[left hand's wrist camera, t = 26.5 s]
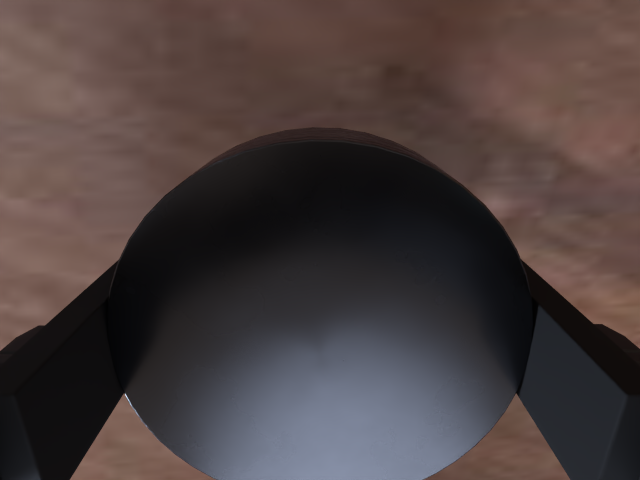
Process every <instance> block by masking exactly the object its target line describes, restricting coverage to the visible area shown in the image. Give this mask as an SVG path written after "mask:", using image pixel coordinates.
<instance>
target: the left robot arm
mask: <svg viewBox="0 0 640 480" xmlns="http://www.w3.org/2000/svg"><path fill="white" fill-rule="evenodd" d="M118 261H119V260H118ZM118 261H117V262H116V263H115V264H114V265H112V266H111V267H110V268H109V269H108V270H107V271H106V272H105V273H103V274H102V275H101V276H100V277H99V278H98V279H97V280H96V281H94V282H93V283H92V284H91V285H90V286H89V287H88V288H87V289H86V290H84V291H83V292H82V293H81V294H80V295H79V296H78V297H77V298H75V299H74V300H73V301H72V302H71V303H70V304H69V305H68V306H66V307H65V308H64V309H63V310H62V311H61V312H60V313H59V314H58V315H56V316H55V317H54V318H53V319H52V320H51V321H50V322H49V323H47V324H46V325H45V326H37V327H35V328H33V329H31V330H30V331H28V332H26V333H24V334H22V335H20V336H18V337H16V338H15V339H14V340H13V341H12V342H10V343H9V344H8V345H7V346H6V347H5V348H3V349H2V350H1V351H0V480H70V478H71V477H72V475H73V473H74V472H75V470H76V469H77V467H78V465H79V464H80V462H81V461H82V459H83V458H84V456H85V454H86V453H87V451H88V450H89V448H90V446H91V445H92V443H93V442H94V440H95V438H96V437H97V435H98V434H99V432H100V430H101V429H102V427H103V426H104V424H105V422H106V421H107V419H108V418H109V416H110V414H111V413H112V411H113V410H114V408H115V406H116V405H117V403H118V402H119V400H120V398H121V397H122V395H123V394H124V391H123V389H122V387H121V385H120V383H119V381H118V378H117V375H116V372H115V369H114V366H113V362H112V357H111V352H110V348H109V343H108V338H107V306H108V299H109V292H110V286H111V283H112V279H113V276H114V273H115V269H116V266H117V263H118ZM521 261H522V260H521ZM522 264H523V266H524V269H525V271H526V274H527V278H528V283H529V287H530V292H531V296H532V305H533V322H534V325H533V336H532V344H531V349H530V353H529V358H528V362H527V367H526V371H525V373H524V375H523V378H522V380H521V383H520V385H519V387H518V390H517V392H516V393H517V395H518V396H519V398H520V400H521V401H522V403H523V404H524V406H525V408H526V409H527V411H528V412H529V414H530V416H531V417H532V419H533V420H534V422H535V424H536V425H537V427H538V428H539V430H540V432H541V433H542V435H543V436H544V438H545V440H546V441H547V443H548V444H549V446H550V447H551V449H552V451H553V452H554V454H555V455H556V457H557V459H558V460H559V462H560V463H561V465H562V467H563V468H564V470H565V471H566V473H567V475H568V476H569V478H570V479H571V480H640V349H639V348H638V347H637V346H636V345H634V344H633V343H632V342H631V341H630V340H628V339H627V338H626V337H625V336H623V335H621V334H620V333H618V332H616V331H614V330H612V329H610V328H608V327H606V326H604V325H603V324H593V323H592V322H591V321H589V320H588V319H587V318H586V317H585V316H584V315H583V314H582V313H581V312H579V311H578V310H577V309H576V308H575V307H574V306H573V305H572V304H570V303H569V302H568V301H567V300H566V299H565V298H564V297H563V296H561V295H560V294H559V293H558V292H557V291H556V290H555V289H554V288H553V287H551V286H550V285H549V284H548V283H547V282H546V281H545V280H544V279H542V278H541V277H540V276H539V275H538V274H537V273H536V272H535V271H534V270H532V269H531V268H530V267H529V266H528V265H527V264H526V263H525V262H523V261H522Z"/></svg>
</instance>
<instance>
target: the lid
mask: <svg viewBox="0 0 640 480" xmlns="http://www.w3.org/2000/svg"><path fill="white" fill-rule="evenodd" d="M533 325H534V322H533V305H532V296H531V292H530V287H529V283H528V278H527V274H526V271H525V269H524V266H523V264H522V261H521V259H520V256H519V254H518V251H517V249H516V248H515V246H514V244H513V242H512V241H511V239H510V237H509V236H508V234H507V232H506V231H505V229H504V227H503V226H502V225H501V224H500V222H499V221H498V220H497V219H496V218H495V216H494V215H493V214H492V213H491V212H490V210H489V209H488V208H487V207H486V205H485V204H483V203H482V202H481V201H480V200H479V199H478V198H477V197H476V196H474V195H473V194H472V193H471V192H470V191H469V190H468V189H467V188H465V187H464V186H463V185H462V184H461V183H459V182H458V181H456V180H455V179H454V178H452V177H451V176H450V175H448V174H447V173H446V172H444V171H443V170H441V169H440V168H439V167H437V166H436V165H435V164H433V163H431V162H430V161H428V160H427V159H425V158H424V157H422V156H421V155H419V154H418V153H416V152H415V151H413V150H410V149H408V148H406V147H404V146H402V145H400V144H398V143H396V142H393V141H391V140H388V139H385V138H382V137H378V136H375V135H372V134H369V133H365V132H359V131H353V130H347V129H341V128H315V127H312V128H303V129H293V130H285V131H281V132H277V133H273V134H268V135H264V136H260V137H258V138H255V139H253V140H250V141H248V142H245V143H242V144H240V145H237V146H235V147H233V148H232V149H230V150H228V151H226V152H225V153H223V154H221V155H219V156H218V157H216V158H214V159H213V160H211V161H210V162H208V163H207V164H206V165H204V166H203V167H202V168H200V169H199V170H198V171H196V172H195V173H194V174H192V175H191V176H190V177H188V178H187V179H186V180H184V181H183V182H182V183H180V184H179V185H178V186H177V187H175V188H174V189H173V190H171V191H170V192H169V193H168V194H166V195H165V196H164V197H163V198H162V199H161V200H160V201H159V202H158V203H157V204H156V205H155V206H154V207H153V209H152V210H151V211H150V212H149V213H148V214H147V215H146V216H145V217H144V218H143V220H142V221H141V223H140V224H139V226H138V227H137V228H136V230H135V231H134V233H133V234H132V236H131V237H130V238H129V240H128V242H127V244H126V246H125V248H124V251H123V253H122V255H121V257H120V259H119V261H118V263H117V266H116V269H115V273H114V276H113V279H112V283H111V286H110V292H109V299H108V306H107V338H108V343H109V348H110V352H111V357H112V362H113V366H114V369H115V372H116V375H117V378H118V381H119V383H120V385H121V387H122V389H123V391H124V393H125V395H126V397H127V399H128V401H129V403H130V404H131V406H132V407H133V409H134V410H135V412H136V413H137V415H138V416H139V418H140V419H141V421H142V422H143V423H144V424H145V425H146V426H147V428H148V429H149V430H150V431H151V432H152V433H153V434H154V435H155V437H156V438H157V439H158V440H159V441H161V442H162V443H163V444H164V445H165V446H166V447H167V448H168V449H170V450H171V451H172V452H173V453H174V454H175V455H177V456H178V457H180V458H181V459H182V460H184V461H185V462H187V463H188V464H190V465H191V466H192V467H194V468H196V469H198V470H199V471H201V472H203V473H205V474H207V475H208V476H210V477H212V478H214V479H216V480H423V479H425V478H428V477H430V476H432V475H434V474H436V473H438V472H439V471H441V470H442V469H444V468H446V467H447V466H449V465H450V464H452V463H453V462H455V461H457V460H458V459H459V458H460V457H462V456H463V455H464V454H465V453H467V452H468V451H469V450H470V449H472V448H473V447H474V446H475V445H476V444H477V443H478V442H479V441H480V440H481V439H482V438H483V437H484V436H485V435H486V434H487V433H488V432H489V431H490V430H491V429H492V428H493V427H494V425H495V424H496V423H497V421H498V420H499V419H500V418H501V416H502V415H503V414H504V412H505V411H506V409H507V408H508V406H509V404H510V402H511V401H512V399H513V397H514V396H515V394H516V392H517V390H518V387H519V385H520V383H521V380H522V378H523V375H524V373H525V371H526V367H527V362H528V358H529V353H530V349H531V344H532V336H533Z"/></svg>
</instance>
